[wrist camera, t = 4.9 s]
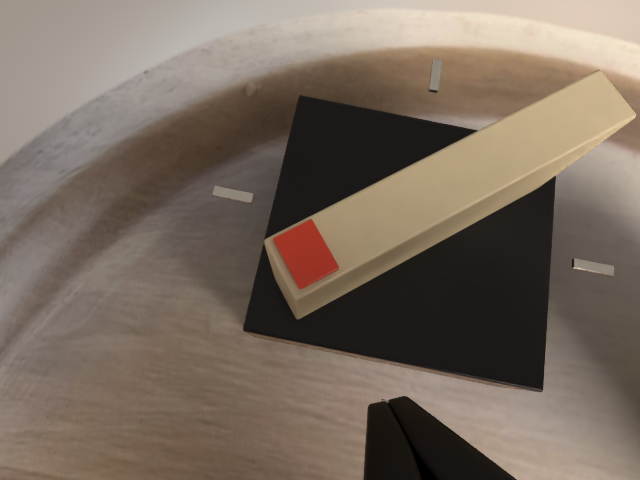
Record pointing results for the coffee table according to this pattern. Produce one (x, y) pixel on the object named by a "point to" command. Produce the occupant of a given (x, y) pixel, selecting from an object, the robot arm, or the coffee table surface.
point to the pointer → (441, 194)
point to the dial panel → (413, 258)
